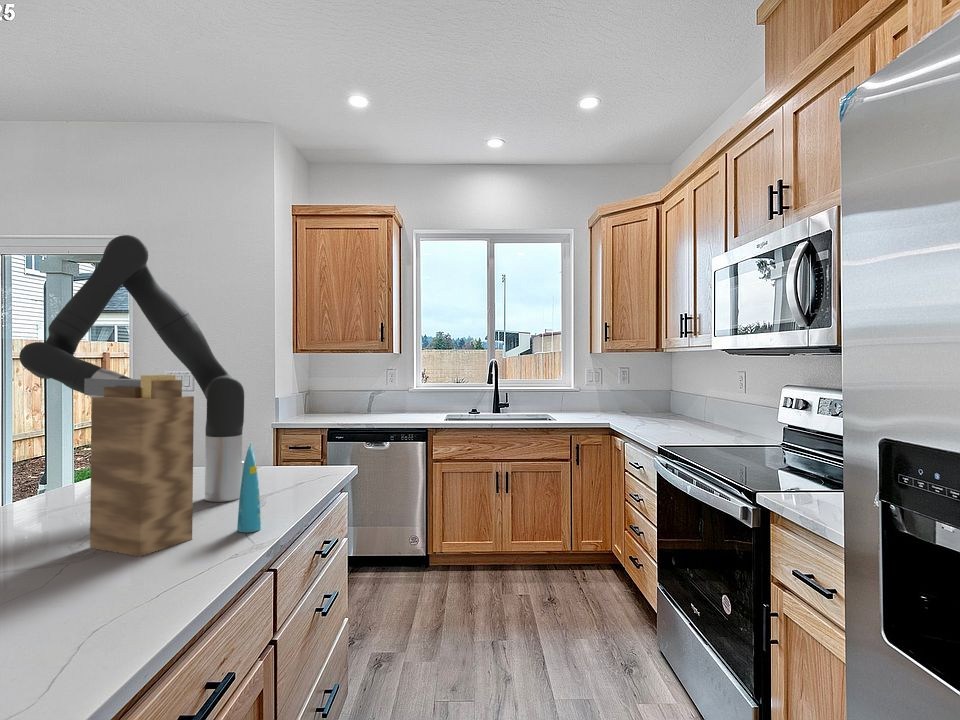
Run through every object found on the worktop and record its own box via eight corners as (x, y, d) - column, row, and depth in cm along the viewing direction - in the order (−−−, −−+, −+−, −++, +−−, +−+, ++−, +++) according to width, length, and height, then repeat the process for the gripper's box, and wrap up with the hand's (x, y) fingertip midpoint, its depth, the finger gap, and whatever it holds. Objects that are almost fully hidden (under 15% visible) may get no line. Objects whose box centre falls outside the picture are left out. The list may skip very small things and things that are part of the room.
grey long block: (104, 394, 127) (105, 373, 127) (175, 396, 119) (175, 375, 119) (79, 395, 122) (79, 373, 122) (151, 398, 114) (151, 375, 114)
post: (144, 531, 127) (146, 378, 127) (192, 539, 122) (193, 379, 122) (89, 547, 116) (91, 379, 116) (139, 556, 110) (141, 381, 111)
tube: (262, 533, 126) (263, 445, 126) (238, 535, 124) (239, 446, 124) (259, 524, 133) (259, 440, 133) (236, 526, 131) (237, 441, 131)
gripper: (110, 373, 130) (181, 402, 133) (133, 376, 144) (197, 402, 147) (93, 404, 129) (165, 432, 132) (118, 404, 143) (183, 430, 145)
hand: (182, 416), depth 139 cm, fingers open, 8 cm apart
